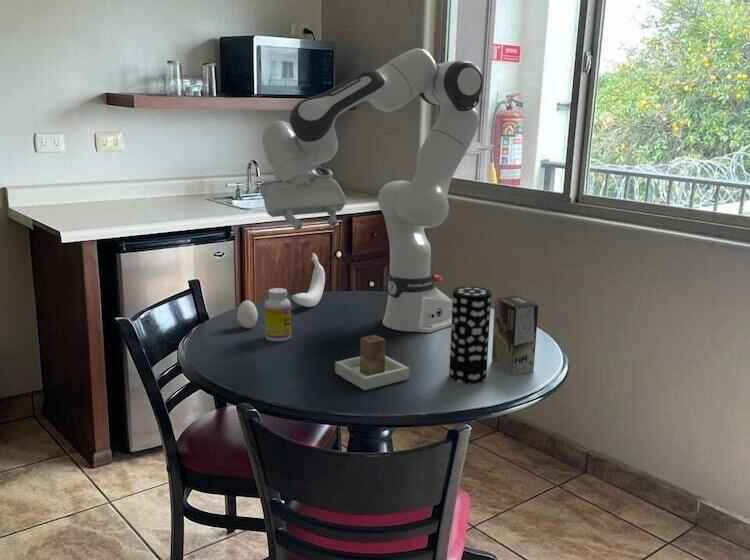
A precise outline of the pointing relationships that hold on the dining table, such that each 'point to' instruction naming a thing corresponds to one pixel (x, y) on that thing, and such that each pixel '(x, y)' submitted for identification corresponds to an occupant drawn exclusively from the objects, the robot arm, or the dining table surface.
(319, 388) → the dining table surface
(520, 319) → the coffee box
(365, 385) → the dish
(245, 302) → the egg
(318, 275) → the banana
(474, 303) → the spotted tube
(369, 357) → the block
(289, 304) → the supplement bottle
